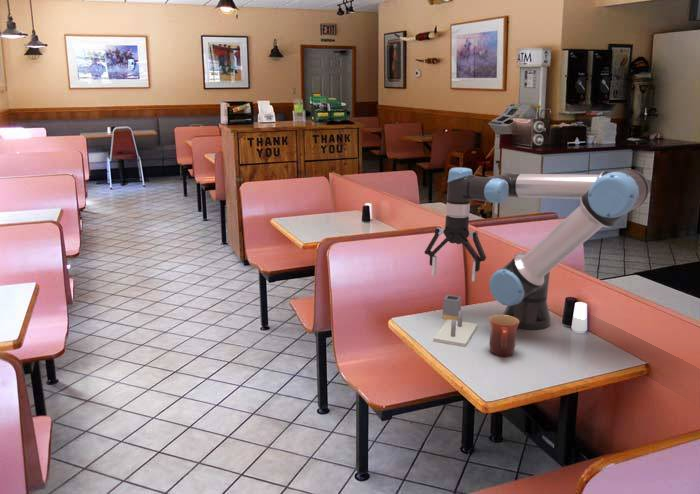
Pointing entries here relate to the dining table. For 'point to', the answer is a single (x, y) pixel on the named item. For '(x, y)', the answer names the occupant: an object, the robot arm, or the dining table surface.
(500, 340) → the mug
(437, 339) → the pin board
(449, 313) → the sleeve
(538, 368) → the dining table surface
